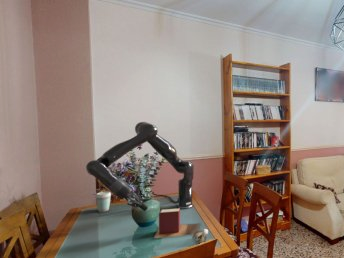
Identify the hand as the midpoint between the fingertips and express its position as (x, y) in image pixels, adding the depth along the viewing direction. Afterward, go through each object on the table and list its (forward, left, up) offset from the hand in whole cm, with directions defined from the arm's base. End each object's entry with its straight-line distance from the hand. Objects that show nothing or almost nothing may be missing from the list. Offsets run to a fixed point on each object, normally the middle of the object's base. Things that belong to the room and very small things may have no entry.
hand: (146, 209), depth 138 cm
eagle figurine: (+24, +22, -14) cm, 36 cm away
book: (+4, +11, -14) cm, 18 cm away
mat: (+5, +15, -14) cm, 21 cm away
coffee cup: (-55, -20, -14) cm, 60 cm away
